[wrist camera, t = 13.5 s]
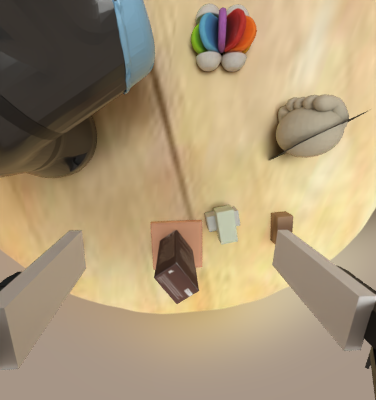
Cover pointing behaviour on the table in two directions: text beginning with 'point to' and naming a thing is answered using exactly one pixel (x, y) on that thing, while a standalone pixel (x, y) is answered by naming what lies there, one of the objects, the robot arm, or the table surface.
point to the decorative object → (311, 125)
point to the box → (176, 267)
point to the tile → (188, 231)
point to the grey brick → (212, 224)
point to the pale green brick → (225, 224)
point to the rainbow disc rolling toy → (222, 36)
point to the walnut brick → (280, 223)
